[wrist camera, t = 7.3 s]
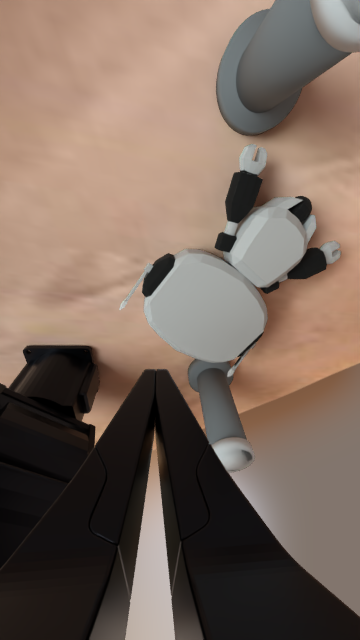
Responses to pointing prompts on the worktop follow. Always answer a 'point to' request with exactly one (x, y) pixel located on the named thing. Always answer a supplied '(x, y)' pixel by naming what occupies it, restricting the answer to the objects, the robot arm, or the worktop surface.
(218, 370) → the tube
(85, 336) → the worktop surface
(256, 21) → the tube
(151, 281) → the robot toy
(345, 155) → the worktop surface
